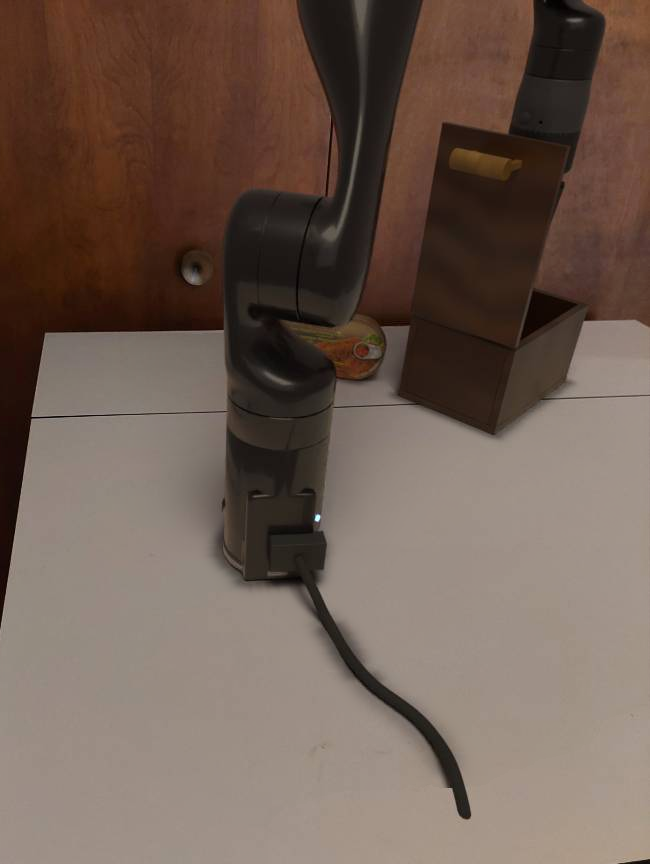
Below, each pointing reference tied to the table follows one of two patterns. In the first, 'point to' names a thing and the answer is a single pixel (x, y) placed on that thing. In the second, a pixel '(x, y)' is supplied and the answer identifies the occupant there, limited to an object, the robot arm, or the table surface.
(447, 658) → the table surface
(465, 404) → the chest
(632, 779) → the table surface
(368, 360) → the tin
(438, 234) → the lid
